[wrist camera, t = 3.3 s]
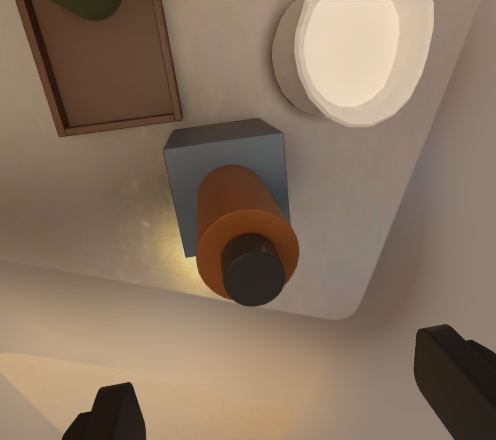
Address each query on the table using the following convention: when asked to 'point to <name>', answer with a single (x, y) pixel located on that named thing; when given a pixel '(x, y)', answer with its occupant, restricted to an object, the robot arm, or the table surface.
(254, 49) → the table surface
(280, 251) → the amber bottle
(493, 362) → the robot arm
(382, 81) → the cup
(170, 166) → the stand
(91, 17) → the green bottle mid
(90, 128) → the tray
